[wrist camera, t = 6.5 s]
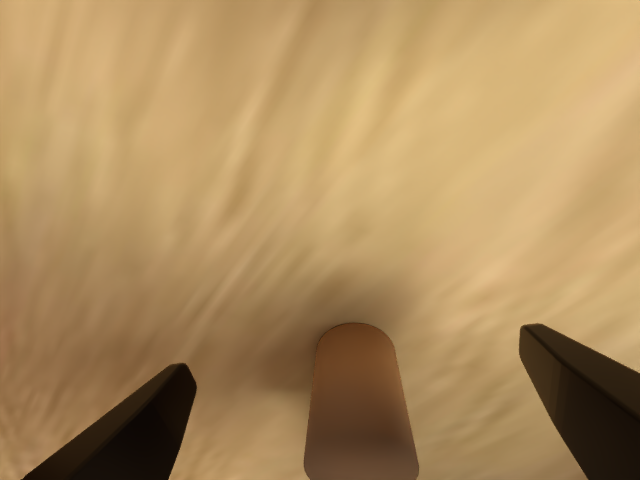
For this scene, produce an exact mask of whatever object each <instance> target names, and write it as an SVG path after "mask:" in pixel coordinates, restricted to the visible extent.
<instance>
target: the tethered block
mask: <svg viewBox="0 0 640 480" xmlns="http://www.w3.org/2000/svg"><path fill="white" fill-rule="evenodd" d="M304 469H305V472H306V474H307V476H308V477H309V479H310V480H416V479H417V476H418V473H419V464H418V459H417V454H416V449H415V445H414V440H413V435H412V430H411V425H410V421H409V416H408V411H407V406H406V401H405V397H404V392H403V387H402V382H401V377H400V373H399V368H398V363H397V358H396V353H395V349H394V345H393V343H392V341H391V340H390V338H389V337H388V336H387V335H386V334H385V333H384V332H382V331H381V330H379V329H377V328H375V327H373V326H370V325H367V324H361V323H348V324H343V325H339V326H337V327H334V328H333V329H331V330H329V331H328V332H327V333H325V334H324V335H323V336H322V338H321V339H320V341H319V343H318V346H317V351H316V360H315V368H314V377H313V386H312V394H311V403H310V411H309V420H308V429H307V437H306V446H305V455H304Z"/></svg>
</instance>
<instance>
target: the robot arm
mask: <svg viewBox="0 0 640 480" xmlns="http://www.w3.org/2000/svg"><path fill="white" fill-rule="evenodd" d="M519 355H520V358H521V361H522V363H523V365H524V367H525V369H526V371H527V373H528V375H529V377H530V379H531V381H532V383H533V385H534V387H535V389H536V391H537V393H538V395H539V397H540V399H541V401H542V403H543V405H544V406H545V408H546V410H547V412H548V414H549V416H550V418H551V420H552V422H553V424H554V425H555V427H556V429H557V430H558V432H559V434H560V435H561V437H562V439H563V440H564V442H565V443H566V445H567V447H568V448H569V450H570V451H571V453H572V454H573V456H574V458H575V459H576V461H577V462H578V464H579V466H580V467H581V469H582V470H583V472H584V473H585V475H586V477H587V478H588V480H640V373H638V372H636V371H634V370H632V369H631V368H629V367H627V366H625V365H623V364H621V363H619V362H617V361H615V360H613V359H611V358H609V357H607V356H605V355H603V354H601V353H599V352H597V351H595V350H593V349H591V348H589V347H587V346H585V345H583V344H581V343H579V342H577V341H575V340H573V339H571V338H569V337H567V336H565V335H563V334H561V333H559V332H557V331H555V330H553V329H551V328H549V327H547V326H545V325H543V324H539V323H536V324H527V325H523V326H521V328H520V339H519ZM196 391H197V385H196V381H195V379H194V377H193V375H192V373H191V371H190V369H189V367H188V366H187V365H186V364H185V363H177V364H171V365H169V366H168V367H166V368H165V369H164V370H163V371H161V372H160V373H159V374H157V375H156V376H155V377H153V378H152V379H151V380H150V381H148V382H147V383H146V384H144V385H143V386H142V387H140V388H139V389H138V390H136V391H135V392H134V393H133V394H131V395H130V396H129V397H127V398H126V399H125V400H123V401H122V402H121V403H120V404H118V405H117V406H116V407H114V408H113V409H112V410H110V411H109V412H108V413H106V414H105V415H104V416H103V417H101V418H100V419H99V420H97V421H96V422H95V423H93V424H92V425H91V426H90V427H88V428H87V429H86V430H84V431H83V432H82V433H80V434H79V435H78V436H76V437H75V438H74V439H73V440H71V441H70V442H69V443H67V444H66V445H65V446H63V447H62V448H61V449H60V450H58V451H57V452H56V453H54V454H53V455H52V456H50V457H49V458H48V459H46V460H45V461H44V462H43V463H41V464H40V465H39V466H37V467H36V468H35V469H33V470H32V471H31V472H30V473H28V474H27V475H26V476H25V477H24V478H23V479H21V480H168V479H169V476H170V474H171V471H172V469H173V466H174V463H175V461H176V458H177V455H178V452H179V450H180V447H181V443H182V440H183V437H184V433H185V430H186V426H187V423H188V419H189V416H190V412H191V409H192V405H193V402H194V398H195V395H196Z"/></svg>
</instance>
